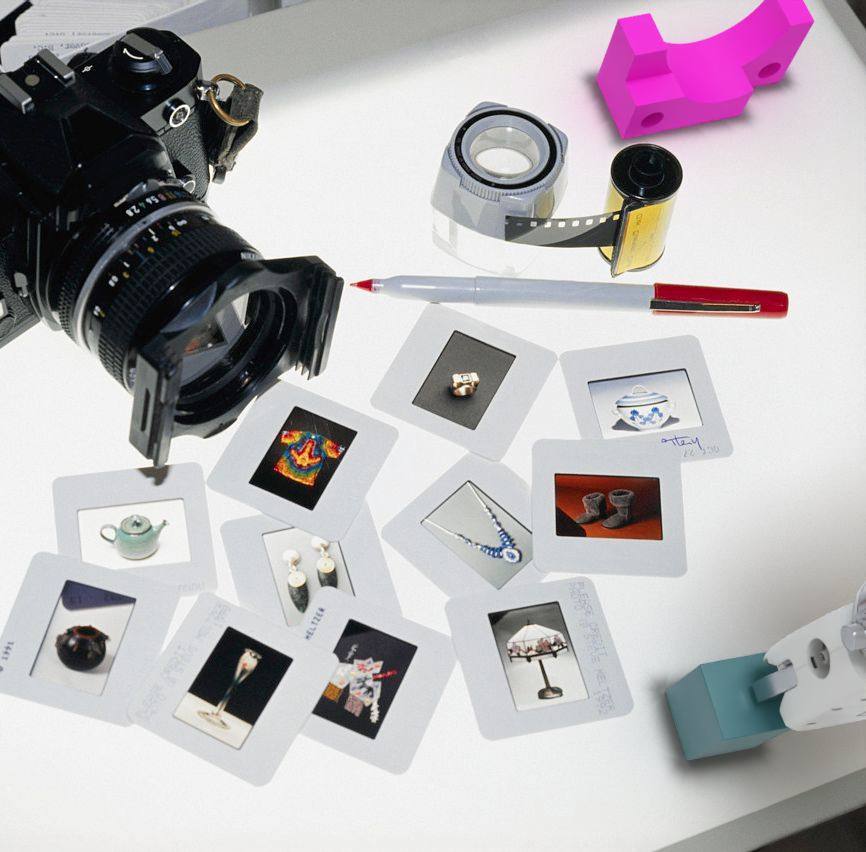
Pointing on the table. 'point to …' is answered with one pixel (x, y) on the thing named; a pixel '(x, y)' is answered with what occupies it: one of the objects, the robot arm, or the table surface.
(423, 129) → the table surface
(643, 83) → the magenta bracket
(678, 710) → the teal rectangular block
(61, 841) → the table surface
